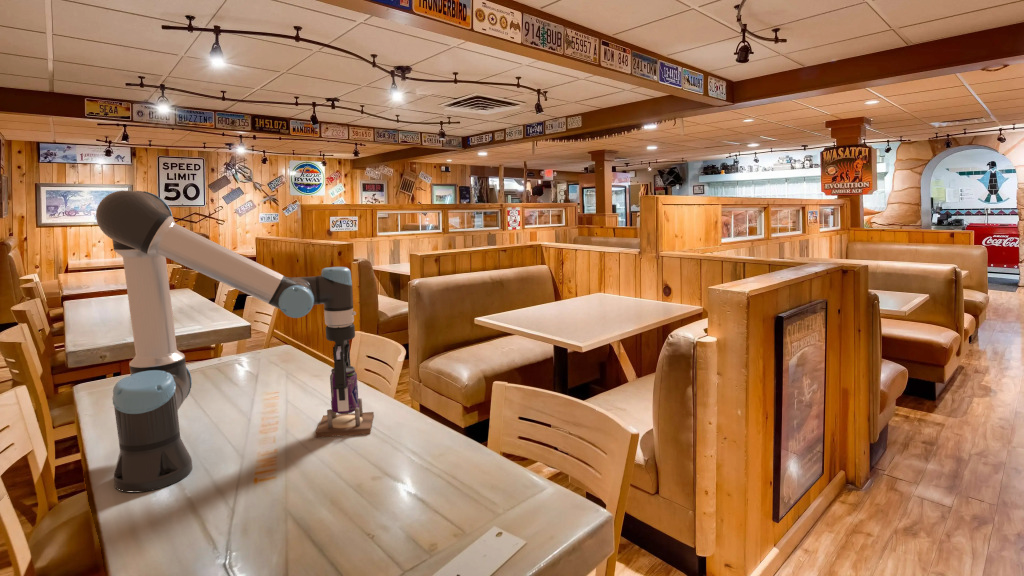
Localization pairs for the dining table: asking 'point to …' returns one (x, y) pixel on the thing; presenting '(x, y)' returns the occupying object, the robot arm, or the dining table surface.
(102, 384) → the dining table surface
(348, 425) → the pin board
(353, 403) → the beverage can
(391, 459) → the dining table surface
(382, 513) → the dining table surface
